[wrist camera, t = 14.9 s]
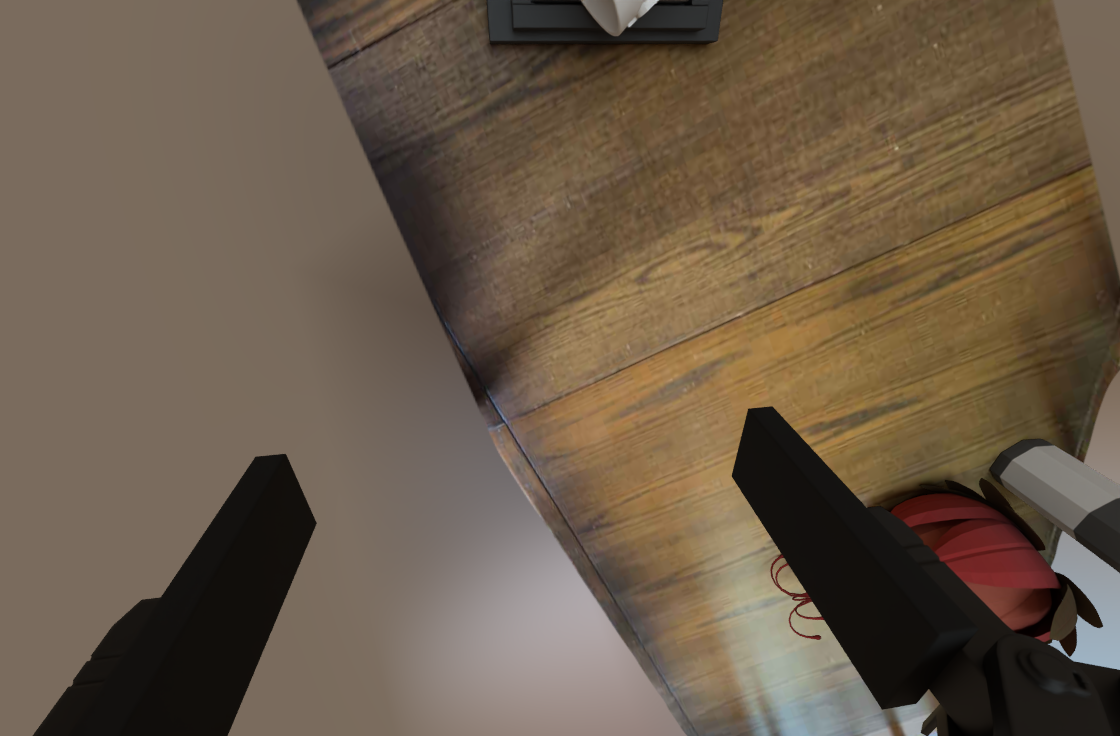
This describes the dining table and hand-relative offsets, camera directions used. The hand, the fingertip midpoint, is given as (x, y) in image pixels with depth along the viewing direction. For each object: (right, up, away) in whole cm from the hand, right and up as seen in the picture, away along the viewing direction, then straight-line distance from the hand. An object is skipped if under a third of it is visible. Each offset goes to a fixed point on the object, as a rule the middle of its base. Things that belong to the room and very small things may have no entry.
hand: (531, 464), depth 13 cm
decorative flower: (+46, -23, +55) cm, 75 cm away
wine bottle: (+66, -10, +50) cm, 83 cm away
